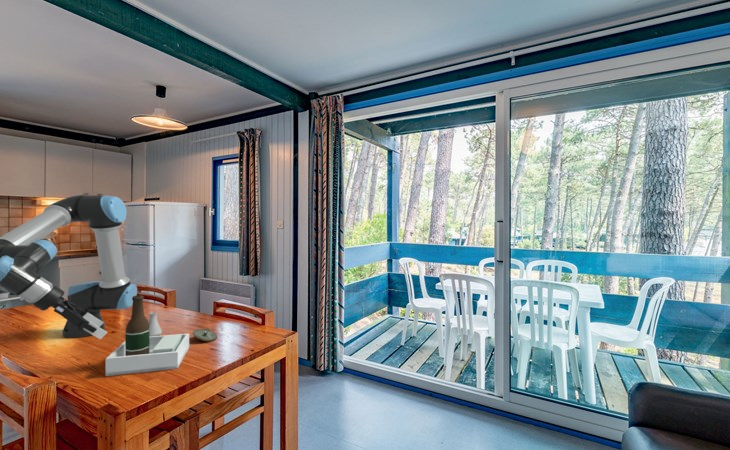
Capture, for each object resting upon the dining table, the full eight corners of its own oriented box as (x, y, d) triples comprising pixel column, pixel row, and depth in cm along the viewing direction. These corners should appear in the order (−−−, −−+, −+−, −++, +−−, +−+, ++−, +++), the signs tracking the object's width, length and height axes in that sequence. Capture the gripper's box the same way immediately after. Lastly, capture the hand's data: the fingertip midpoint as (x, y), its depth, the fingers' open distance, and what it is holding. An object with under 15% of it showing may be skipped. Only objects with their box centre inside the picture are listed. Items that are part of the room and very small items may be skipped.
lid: (198, 335, 154) (198, 324, 154) (220, 335, 155) (220, 324, 155) (188, 344, 143) (188, 332, 143) (212, 343, 144) (212, 332, 144)
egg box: (163, 349, 134) (163, 336, 134) (181, 348, 136) (181, 334, 136) (152, 365, 120) (152, 350, 120) (172, 363, 122) (172, 348, 122)
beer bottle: (133, 355, 129) (133, 293, 128) (154, 354, 129) (154, 293, 129) (120, 364, 121) (120, 298, 120) (142, 363, 122) (142, 298, 121)
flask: (153, 338, 150) (153, 316, 149) (139, 336, 151) (139, 314, 151) (165, 332, 157) (166, 311, 156) (152, 331, 158) (152, 310, 158)
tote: (128, 353, 133) (128, 338, 133) (189, 347, 139) (189, 333, 139) (105, 376, 114) (105, 358, 114) (177, 368, 120) (177, 352, 120)
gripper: (33, 296, 115) (90, 330, 125) (28, 312, 96) (94, 350, 107) (54, 279, 118) (107, 313, 129) (53, 292, 100) (115, 330, 110)
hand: (102, 330), depth 118 cm, fingers open, 13 cm apart
